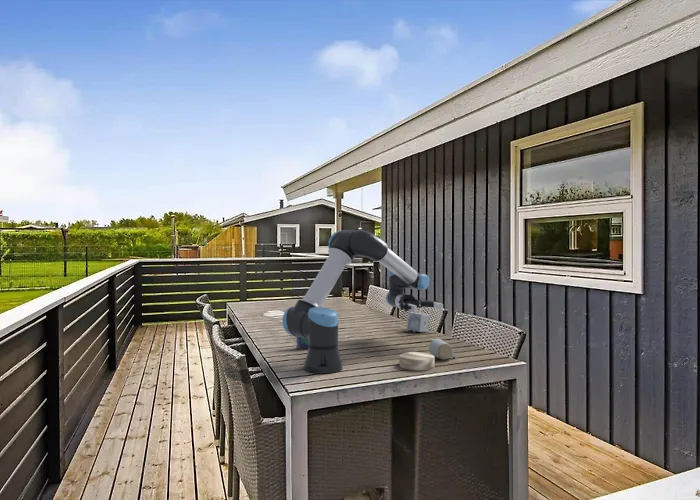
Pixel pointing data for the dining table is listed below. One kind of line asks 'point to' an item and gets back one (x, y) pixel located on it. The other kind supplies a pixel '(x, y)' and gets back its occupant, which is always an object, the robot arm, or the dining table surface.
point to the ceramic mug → (441, 349)
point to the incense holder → (418, 322)
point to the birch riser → (416, 361)
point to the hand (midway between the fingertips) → (429, 307)
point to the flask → (302, 343)
